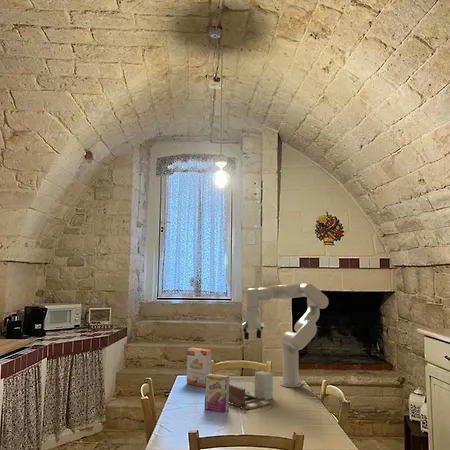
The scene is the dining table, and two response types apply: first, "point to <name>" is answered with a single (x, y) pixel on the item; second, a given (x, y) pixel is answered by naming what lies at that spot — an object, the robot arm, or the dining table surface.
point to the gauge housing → (239, 398)
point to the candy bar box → (217, 392)
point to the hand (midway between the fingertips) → (252, 338)
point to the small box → (264, 385)
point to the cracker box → (198, 366)
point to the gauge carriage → (250, 397)
